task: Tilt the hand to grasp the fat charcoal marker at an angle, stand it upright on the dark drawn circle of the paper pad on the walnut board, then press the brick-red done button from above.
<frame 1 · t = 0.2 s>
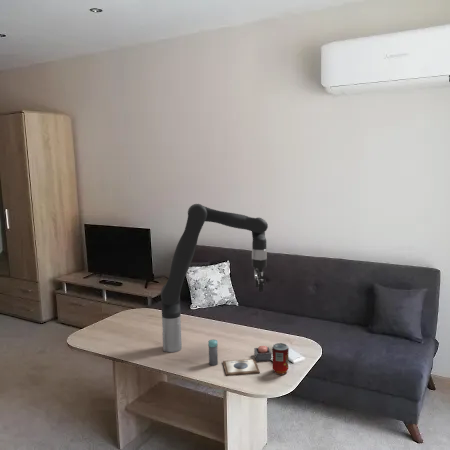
hand: (259, 289, 226), 29 cm above the table, tool pointing down, fingers open, 8 cm apart
soda can: (280, 371, 200), on the table
done button: (262, 350, 213), point 4 cm above the table, slide at 0.0 cm
button housing: (262, 357, 214), on the table
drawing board: (240, 367, 204), on the table
marker: (213, 363, 208), on the table
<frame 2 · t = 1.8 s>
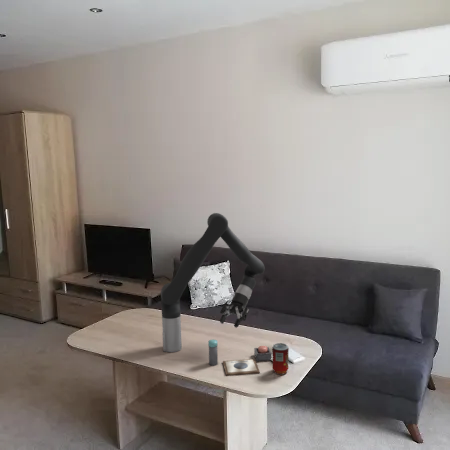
hand: (228, 324, 215), 15 cm above the table, tool tilted 45°, fingers open, 8 cm apart
nothing on the table moved.
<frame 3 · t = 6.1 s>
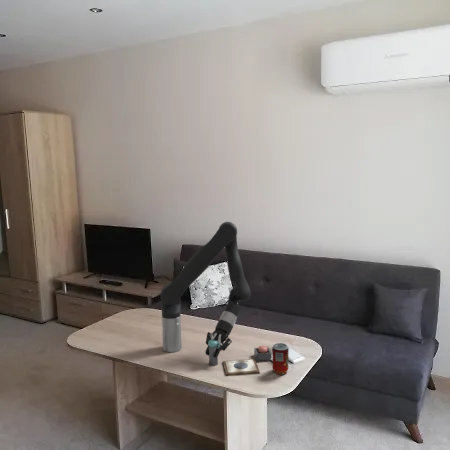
hand: (210, 355, 206), 5 cm above the table, tool tilted 45°, fingers closed on marker, 4 cm apart
marker: (213, 363, 208), on the table, touching gripper
everything else where it was.
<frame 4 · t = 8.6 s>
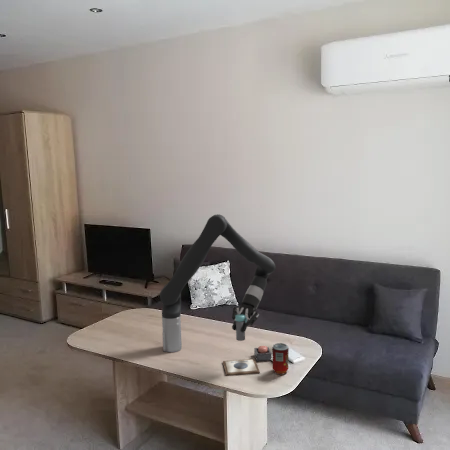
hand: (237, 330, 200), 18 cm above the table, tool tilted 45°, fingers closed on marker, 4 cm apart
marker: (240, 339, 202), point 14 cm above the table, touching gripper
everything else where it was.
when the fingers open (7 cm above the table, at t = 11.4 s): marker drops 1 cm, resting on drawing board.
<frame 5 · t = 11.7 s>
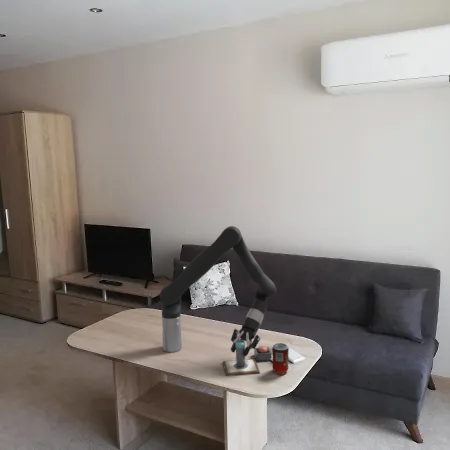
hand: (238, 353, 201), 7 cm above the table, tool tilted 45°, fingers open, 6 cm apart
marker: (240, 365, 203), point 1 cm above the table, touching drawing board
everything else where it was.
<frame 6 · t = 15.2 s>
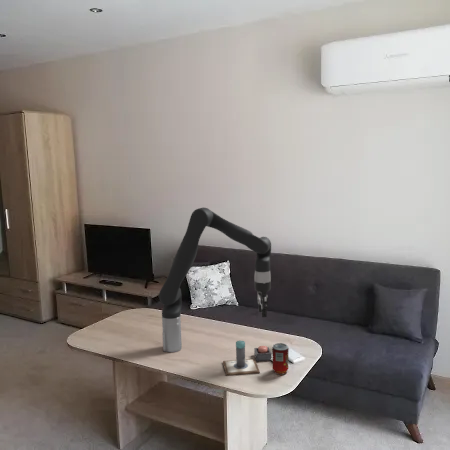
hand: (262, 314, 211), 21 cm above the table, tool pointing down, fingers open, 6 cm apart
nothing on the table moved.
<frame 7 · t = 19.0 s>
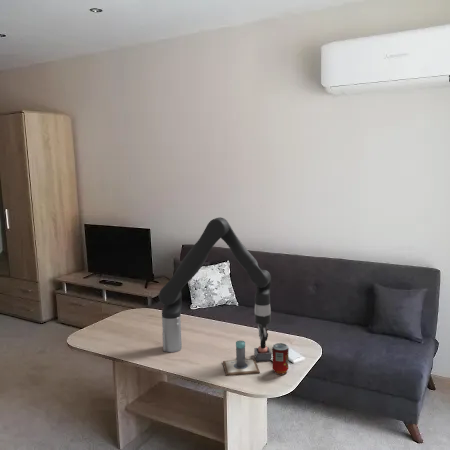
hand: (263, 347, 213), 5 cm above the table, tool pointing down, fingers closed
done button: (262, 350, 213), point 4 cm above the table, slide at 0.0 cm, touching gripper
everything else where it was.
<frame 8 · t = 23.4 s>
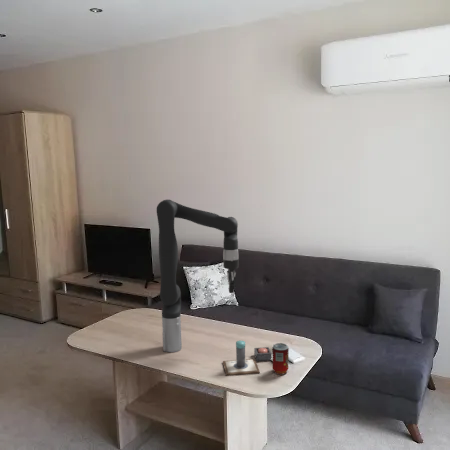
hand: (231, 292, 221), 29 cm above the table, tool pointing down, fingers closed
done button: (262, 352, 213), point 3 cm above the table, slide at 1.1 cm
everything else where it was.
at the end: marker 0.1 cm off-centre on the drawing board, point 1.1 cm above the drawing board's base; marker tilted 0°; done button slide at 1.1 cm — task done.
